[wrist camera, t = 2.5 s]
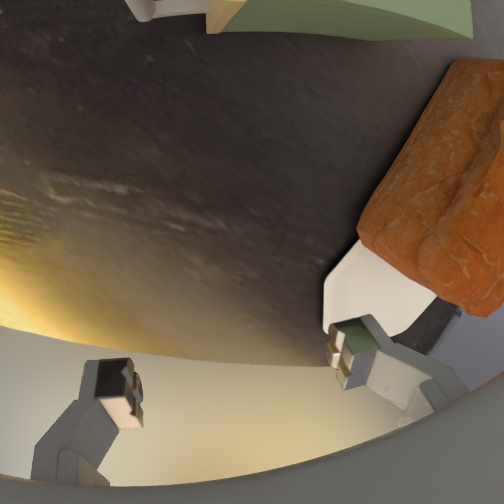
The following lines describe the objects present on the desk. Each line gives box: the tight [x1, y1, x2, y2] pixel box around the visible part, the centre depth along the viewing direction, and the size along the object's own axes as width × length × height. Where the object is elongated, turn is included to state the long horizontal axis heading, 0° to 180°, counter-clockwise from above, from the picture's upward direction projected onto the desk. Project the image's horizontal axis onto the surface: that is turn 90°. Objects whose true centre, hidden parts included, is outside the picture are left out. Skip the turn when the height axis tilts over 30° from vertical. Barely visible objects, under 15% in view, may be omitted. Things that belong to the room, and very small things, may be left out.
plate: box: [323, 237, 437, 337], centre depth 40 cm, size 20×20×2 cm
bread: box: [356, 59, 504, 318], centre depth 25 cm, size 14×27×15 cm, turn 146°
